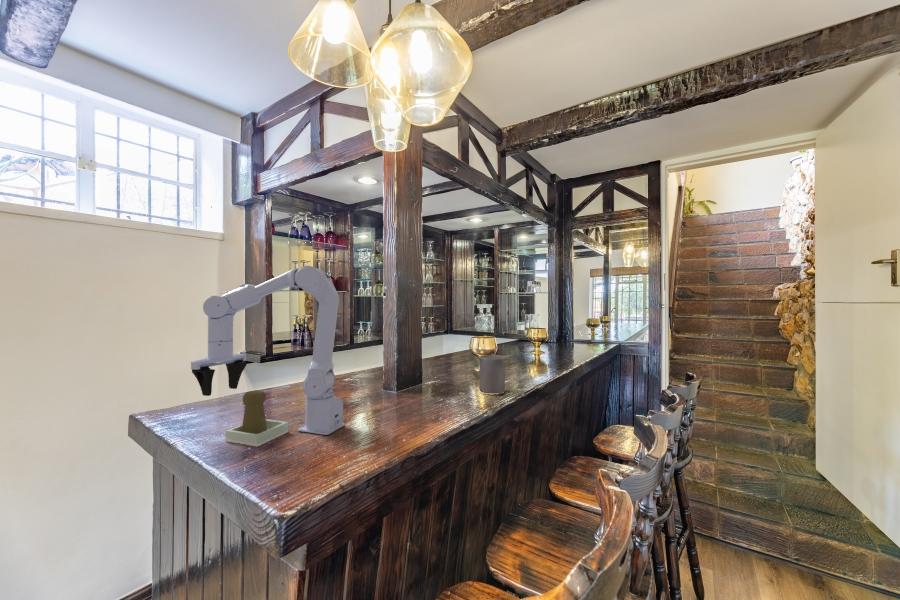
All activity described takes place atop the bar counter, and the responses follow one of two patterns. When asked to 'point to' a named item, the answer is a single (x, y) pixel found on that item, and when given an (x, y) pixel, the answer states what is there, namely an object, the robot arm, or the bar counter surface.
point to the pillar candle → (492, 373)
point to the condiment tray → (256, 440)
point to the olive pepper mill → (254, 412)
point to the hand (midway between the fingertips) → (220, 391)
